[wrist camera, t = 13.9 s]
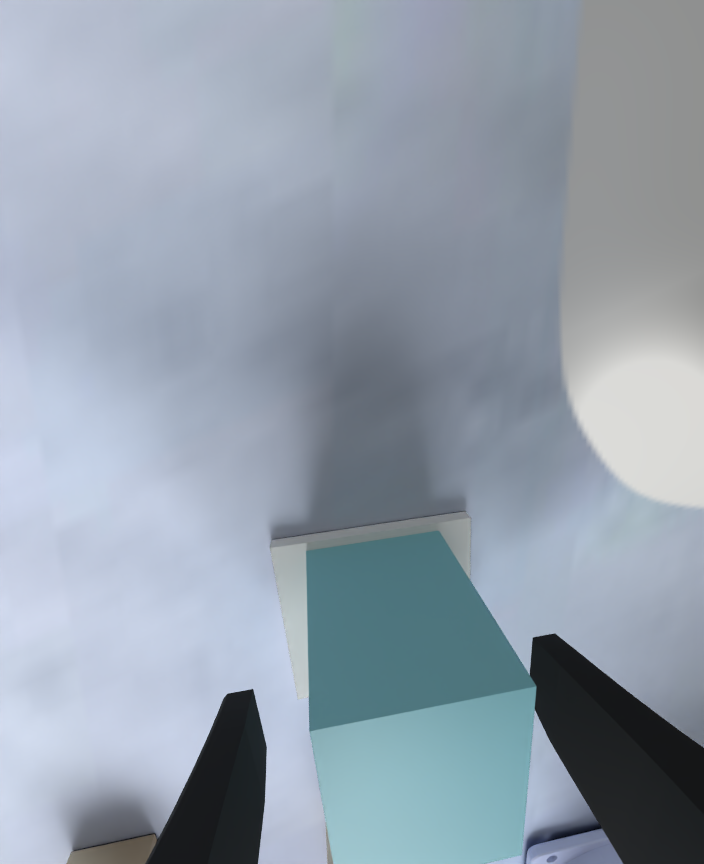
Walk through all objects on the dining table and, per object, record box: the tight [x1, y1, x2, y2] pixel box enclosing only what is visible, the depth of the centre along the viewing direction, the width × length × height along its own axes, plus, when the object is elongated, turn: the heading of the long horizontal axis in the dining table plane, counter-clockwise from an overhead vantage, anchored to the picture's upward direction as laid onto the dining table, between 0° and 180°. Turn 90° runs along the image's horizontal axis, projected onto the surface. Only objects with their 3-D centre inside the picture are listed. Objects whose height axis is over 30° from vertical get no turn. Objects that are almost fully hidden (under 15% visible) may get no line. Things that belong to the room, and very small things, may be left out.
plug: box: [306, 531, 537, 864], centre depth 10 cm, size 4×10×5 cm, turn 5°
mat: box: [270, 511, 471, 699], centre depth 12 cm, size 6×6×1 cm
